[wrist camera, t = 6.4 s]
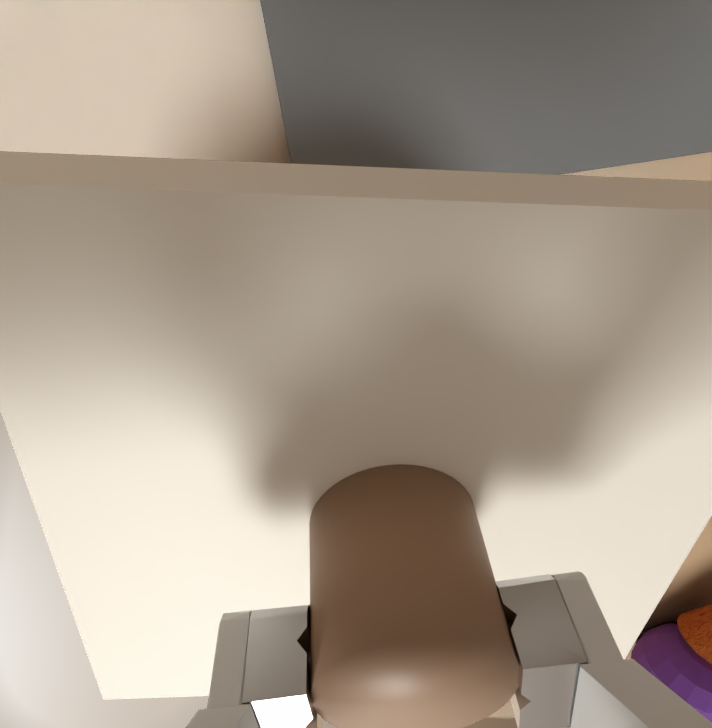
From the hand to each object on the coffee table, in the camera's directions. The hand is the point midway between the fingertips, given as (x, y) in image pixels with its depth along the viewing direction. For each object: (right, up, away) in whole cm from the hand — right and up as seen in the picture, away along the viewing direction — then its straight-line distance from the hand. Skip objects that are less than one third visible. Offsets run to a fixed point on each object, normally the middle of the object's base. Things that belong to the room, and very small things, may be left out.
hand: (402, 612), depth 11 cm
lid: (0, +2, +2) cm, 3 cm away
